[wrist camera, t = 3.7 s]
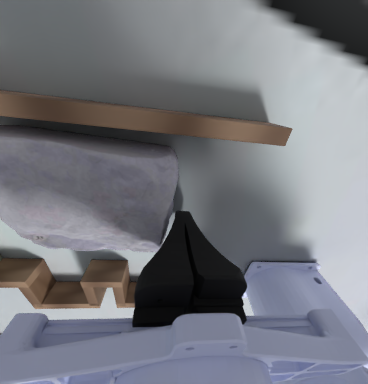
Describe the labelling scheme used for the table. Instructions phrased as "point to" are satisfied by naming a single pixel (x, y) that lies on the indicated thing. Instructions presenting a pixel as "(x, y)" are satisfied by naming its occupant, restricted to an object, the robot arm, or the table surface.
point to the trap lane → (123, 119)
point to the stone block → (85, 189)
